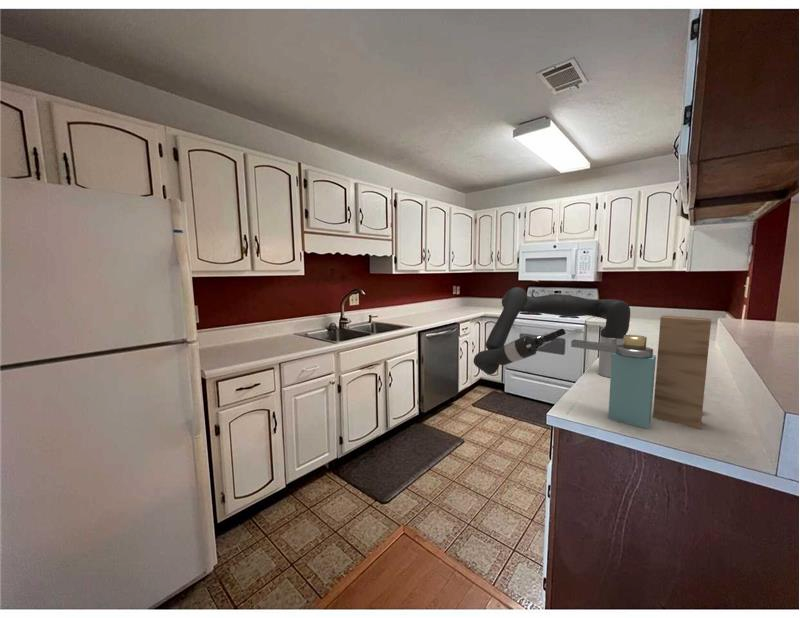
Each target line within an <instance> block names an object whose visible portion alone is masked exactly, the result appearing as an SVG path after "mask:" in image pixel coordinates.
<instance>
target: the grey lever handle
mask: <svg viewBox="0 0 800 618" xmlns="http://www.w3.org/2000/svg"><path fill="white" fill-rule="evenodd" d="M647 339H648V337H647V336H644V335H639V334H626V335H624V337H623V345H614V344H606V343H600V342H598V341H597V342H596V341H590V340H581V339H572V340H571V341H570V347H572V348H578V349H585V350H591V351H605V352H612V353H616V354H618V355H621V356H625V357H631V358H641V359H647V358H652V357H653V355H654V349H653V348H651V347H648V346H647Z"/></svg>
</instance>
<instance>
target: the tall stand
mask: <svg viewBox="0 0 800 618" xmlns="http://www.w3.org/2000/svg"><path fill="white" fill-rule="evenodd" d="M659 320H660V322H659V334H658V345H657V346H658V347H657V356H656V369H655V382H654V394H653V407H652V419H657V420H662V421H665V422H670V423H674V424H678V425H681V426H685V427H690V428H694V429H698V430H701V428H702V418H703V409H704V404H703V400H704V392H705V388H706V387H705V386H706V379H707V376H706V375H707V367H708V356H709V346H710V338H711V337H710V336H711V325H712V317H703V316H702V317H699V316H686V315H683V316H682V315H669V314H662V315H661V316H660V319H659ZM704 401H705V400H704Z"/></svg>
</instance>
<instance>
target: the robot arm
mask: <svg viewBox="0 0 800 618" xmlns="http://www.w3.org/2000/svg"><path fill="white" fill-rule="evenodd" d="M501 306H502V307H503V308H502V311H501V313H500V315H499V317H498V318H497V321H496V322H495V324H494V325H493V327H492V329H491V331H490V332H489V335H488V337H487V339H486V341H485V348H486V350H481V351H479V352H477V353H476V354H475V355H474V357H473V365H474V366H475V367H476V368H478V369H479V370H480V371H482V372H483V373H485V374H487V375H489V376H490V375H494V374H495V373H496V372H498V369H499V368H500V366H505V365H509V364H512V363H514V362H518V361H522V360H525V359H527V358H530V357H531V356H535V355H536V354H537V351H538V350H537V349H539V348H541V347H544V346H545V345H546V344H549V343H551V342H552V341H553V340H557V338H559V337H562V336H564V335H566V333H567V332H566V331H565V329H564V328H560V329H558V330H555V331H551V332H550V333H544V334H541V335H537V336H534V337H530V336H529V335H524V336H522V337H520V338H518V339H514V340H512V341H510V342H509V343H507V344H506V341H507V339H508V337H509V334H510V331H511V330H512V327H513V325H514V322H515V321H516V319H517V317H518V315H519V313H536V314H537V313H538V314H545V315H553V316H559V317H560V316H561V317H579V316H589V317H594V318H599V319H604V320H606V321H605V327H604V328H601V330H600V333H599V335H600V337H599V343H606V344H614V345H623V337H624V335H627V334H628V332H629V328H630V322H631V307H630V305H629V303H627V302H626V301H624V300H620V299H612V298H608V299H599V298H598V299H597V298H596V299H594V298H593V299H592V298H591V299H589V298H584V297H581V296H575V295H570V294H562V293H561V294H556V293H555V294H547V295H541V296H540V295H539V296H538V295H537V296H529V295H528V293H527V291H526V290H525V289H524V288H522V287H520V286H516V287H511V288H510V289H509V290H508V291H506V293H505V294H504V295H503V297H502V299H501ZM598 353H599V355H598V371H597V373H598V375H600V376H602V377H606V378H610V379H611V364H612V352H605V351H599V352H598Z"/></svg>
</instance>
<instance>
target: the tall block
mask: <svg viewBox="0 0 800 618" xmlns="http://www.w3.org/2000/svg"><path fill="white" fill-rule="evenodd" d="M656 363H657V355H656V354H653V357H652V358H647V359H641V358H631V357H625V356H621V355H618V354H616V353H612V364H611V378H610V380H609V381H610V382H609V383H610V384H609V398H608V399H609V400H608V416H607V418H608V419H609V420H613V421H617V422H620V423H624V424H628V425H632V426H635V427H639V428H644V429H646V430H649V427H650V426H651V423H652V414H653V401H654V389H655V376H656Z"/></svg>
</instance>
